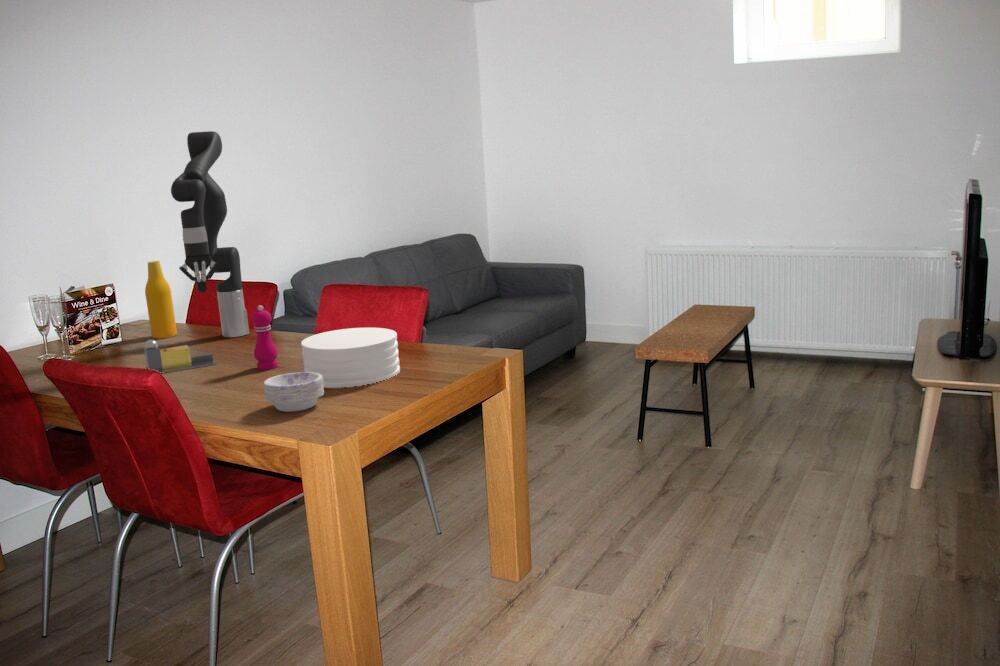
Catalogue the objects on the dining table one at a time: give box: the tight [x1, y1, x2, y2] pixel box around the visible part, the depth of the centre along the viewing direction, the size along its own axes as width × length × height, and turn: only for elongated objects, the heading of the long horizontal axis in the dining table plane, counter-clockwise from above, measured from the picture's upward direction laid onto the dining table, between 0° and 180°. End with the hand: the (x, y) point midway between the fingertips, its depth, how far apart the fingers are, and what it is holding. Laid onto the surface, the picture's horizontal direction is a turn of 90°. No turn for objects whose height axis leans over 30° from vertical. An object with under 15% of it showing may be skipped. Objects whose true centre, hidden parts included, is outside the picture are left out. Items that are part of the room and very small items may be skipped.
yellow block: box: [160, 344, 192, 369], centre depth 276 cm, size 9×6×6 cm, turn 119°
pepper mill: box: [251, 304, 279, 371], centre depth 267 cm, size 7×7×20 cm
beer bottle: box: [144, 260, 178, 340], centre depth 325 cm, size 9×9×29 cm
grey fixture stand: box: [143, 339, 217, 374], centre depth 276 cm, size 20×12×10 cm, turn 118°
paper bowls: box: [263, 371, 325, 413], centre depth 224 cm, size 15×15×8 cm
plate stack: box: [300, 327, 401, 389], centre depth 253 cm, size 28×28×12 cm
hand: (202, 292), depth 285 cm, fingers closed
